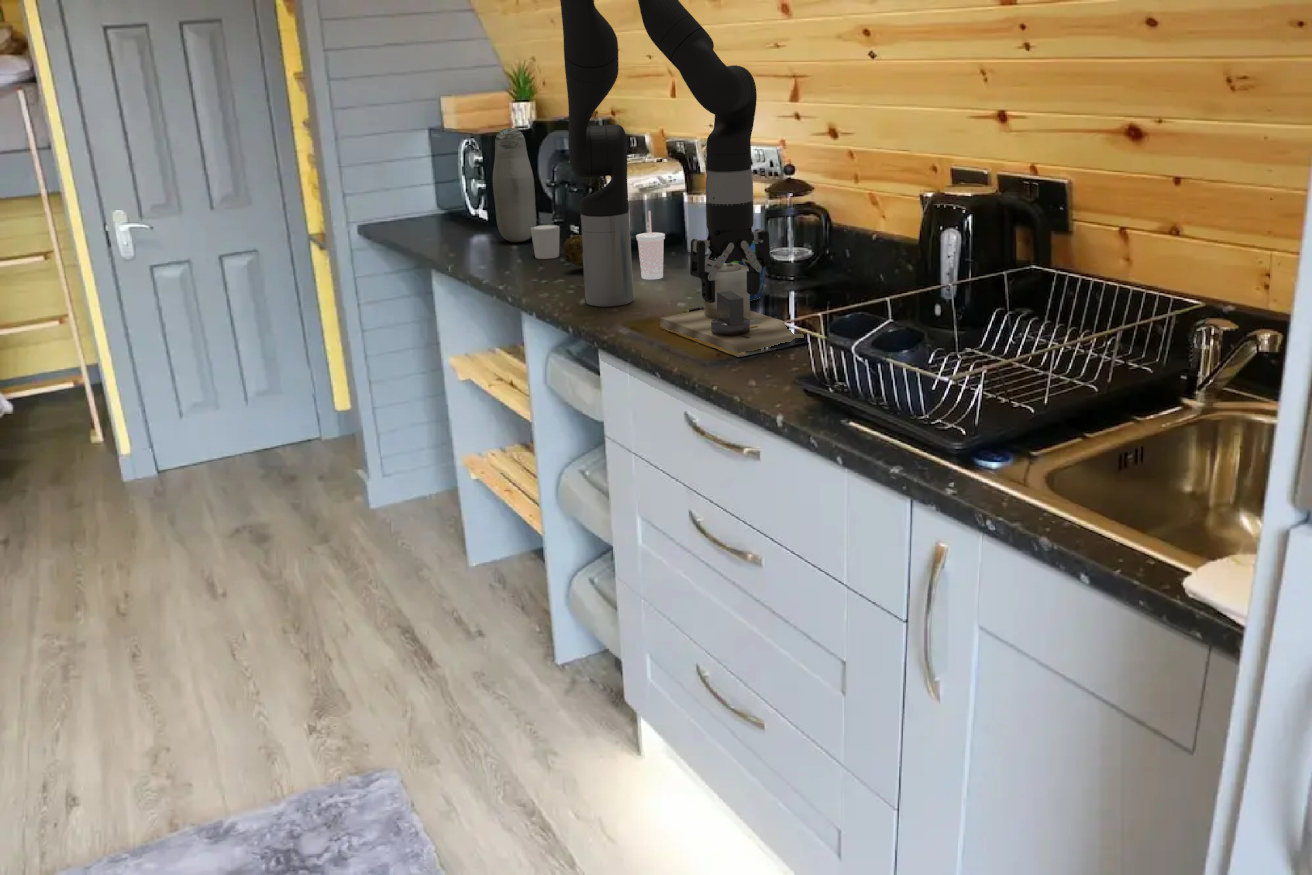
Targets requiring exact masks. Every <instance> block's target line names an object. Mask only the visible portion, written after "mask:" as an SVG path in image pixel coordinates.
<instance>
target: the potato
mask: <svg viewBox="0 0 1312 875" xmlns="http://www.w3.org/2000/svg"><path fill="white" fill-rule="evenodd" d="M564 241H565V242H564V243H563V252H564V255H565V261H566V262H568V263H569V262H570V263H572V264H573V265H575V266H578V267H583V242H582V234H575V235H572V236H571V237H568V238H567V239H565V240H564Z"/></svg>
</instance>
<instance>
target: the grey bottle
mask: <svg viewBox="0 0 1312 875" xmlns="http://www.w3.org/2000/svg"><path fill="white" fill-rule="evenodd" d="M495 136H496V137H495V141H494V149H495V150H494V163H493V170H492V188H493V198H494V200H493V201H494V207H495V216H496V225H497V228H498V229H497V230H498V231H499V233H500V235H501V236H502V238H503V239H505V240H506V241H508V242H510V243H521V242H523V243H524V242H526V241H528V240H530V239H531V238H532V235H531V229H530V228H531V227H534V226H537V205H536V192H535V178H534V173H533V169H532V166H531V162H530V159H529V156H528V155H529V154H528V150H527V144H526V139H525V136H524V134H523V133H522V132H521V131H520V130H519V129H518V128H513V127H511V128H510V127H509V128H502V129H500V131H499V132H497V134H496V135H495Z"/></svg>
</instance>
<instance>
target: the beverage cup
mask: <svg viewBox="0 0 1312 875" xmlns="http://www.w3.org/2000/svg"><path fill="white" fill-rule="evenodd" d="M635 238H636V241H637V246H638V256H639V264H640V274H641V279H643V280H659V279H662V278H664V240H665V239H666V234H665V233H664V232H653V231H652V211H651V210H648V232H643V233H638V234H636V235H635Z"/></svg>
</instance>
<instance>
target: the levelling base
mask: <svg viewBox="0 0 1312 875" xmlns="http://www.w3.org/2000/svg"><path fill="white" fill-rule="evenodd" d="M747 271H749V269H748V268H747V267H746V266H744V265H740V264H738V263H727V264H726V263H724V264H723V266H722V268H721V269H719V270H718V272H717V273H716V275H715V277H714V279H713V280H715V302H714V303H708V302H705V300H704V299H703V306H704V307H703V309H698V310H694V311H688V312H682V313H677V314H672V315H671V314H670V315H667V316H661V317H660V318H659V322H660V323H659V324H660V326H659V327H663V328H666V329H668V330H673V331H675V332H678V333H680V334H686V335H687V336H690V337H692V338H697V339H700V340H702V341H704V342H709V343H711V344H714V345H716V346H718V347H723V348H724V349H727V350H729V351H733V352H736V353H741V352H745V351H754V350H757V349H761V348H763V347H771V346H774V345H778V344H780V343H785V342H791V341H792V340H793V339H795V338H804V335H803V334H793V333H792V332H791V330H789V329H787V327H786V326H785V325H784V324H783V323H784V322H786V321H785V320H781V319H777V318H775V317H772V316H770V315H765V314H762V313H759V312H756V311H752V310H751V302H750V294H748V293H747ZM724 291H731V292H733V293H735V294H737V295H739V296H740V297H742V298H743V305H744V318H747V319H749V320H757V319H759V320H761V324H754V325H750V331H749V332H747V333H744V334H740V335H719V334H715V333H712V332H711V321H712V320H714V319H716V318H717V292H724Z"/></svg>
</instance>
